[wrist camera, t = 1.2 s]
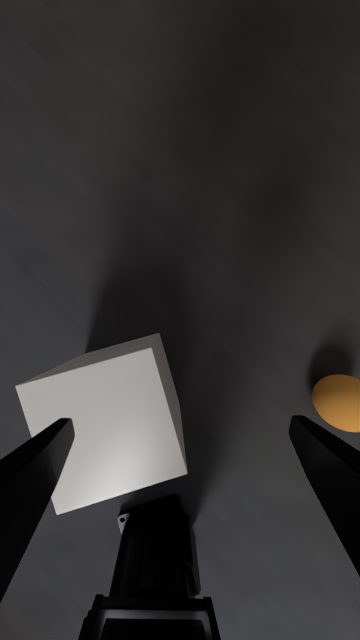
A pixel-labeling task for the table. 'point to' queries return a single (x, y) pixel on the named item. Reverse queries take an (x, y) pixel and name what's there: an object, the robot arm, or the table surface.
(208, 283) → the table surface
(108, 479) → the white foam cube
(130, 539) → the robot arm
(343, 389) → the ball
